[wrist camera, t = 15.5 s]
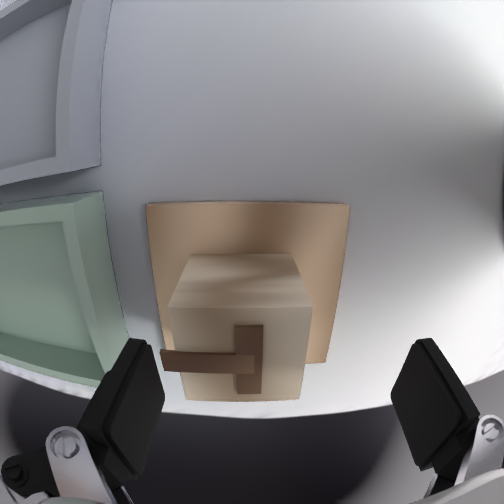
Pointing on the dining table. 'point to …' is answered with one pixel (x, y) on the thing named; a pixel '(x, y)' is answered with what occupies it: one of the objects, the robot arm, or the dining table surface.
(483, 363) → the dining table surface
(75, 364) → the green tray
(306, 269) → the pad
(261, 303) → the letter cube
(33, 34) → the slate tray
